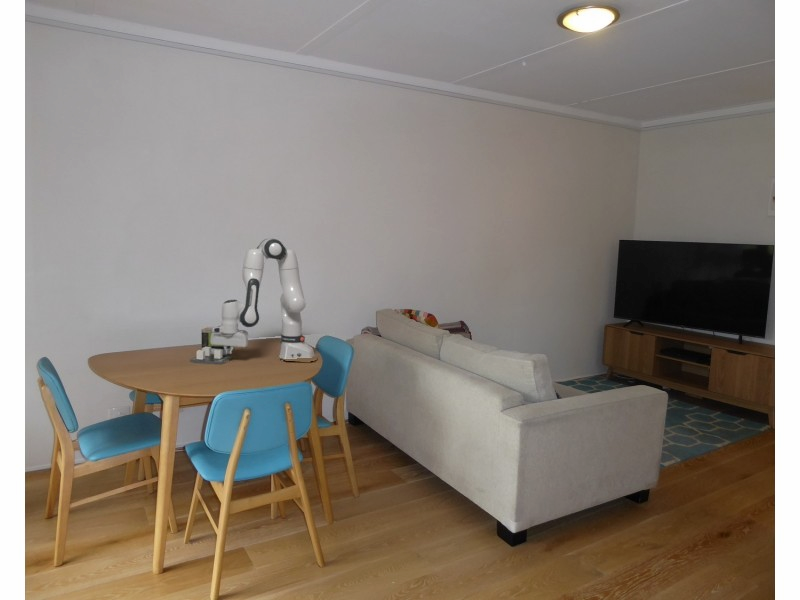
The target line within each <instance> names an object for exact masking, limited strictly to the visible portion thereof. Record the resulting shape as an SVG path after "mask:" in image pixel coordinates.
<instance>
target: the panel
mask: <svg viewBox="0 0 800 600" xmlns="http://www.w3.org/2000/svg"><path fill="white" fill-rule="evenodd" d="M228 360H229V361H230V360H232V356H231V355H222V358H221V359H217V358H214V354H211V355H210V356H205V359H203V360H201V359H197V355H196V356H195V357H192V358H191V359H189V363H190V362H193V364H205V363H206V365H207V364H208V365H209V364H211V365H221V364H223V365H224V364H226V363H227V362H229V361H228ZM225 362H226V363H225Z"/></svg>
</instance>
